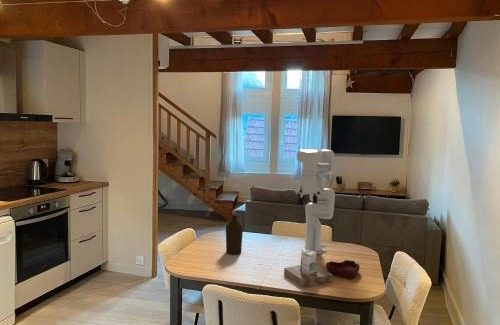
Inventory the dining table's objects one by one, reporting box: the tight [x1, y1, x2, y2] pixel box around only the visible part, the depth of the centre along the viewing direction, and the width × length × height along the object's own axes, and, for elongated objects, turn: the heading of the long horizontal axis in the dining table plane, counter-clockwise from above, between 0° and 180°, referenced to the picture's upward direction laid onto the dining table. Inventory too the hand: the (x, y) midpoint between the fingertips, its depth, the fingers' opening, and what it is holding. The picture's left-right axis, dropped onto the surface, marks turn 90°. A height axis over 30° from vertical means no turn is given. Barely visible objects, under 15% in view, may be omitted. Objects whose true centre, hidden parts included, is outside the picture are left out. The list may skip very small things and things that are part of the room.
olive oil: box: [225, 212, 244, 256], centre depth 242 cm, size 11×11×25 cm
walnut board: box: [283, 264, 334, 289], centre depth 205 cm, size 18×18×4 cm
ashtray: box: [325, 259, 360, 280], centre depth 212 cm, size 18×16×5 cm
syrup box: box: [300, 250, 317, 275], centre depth 204 cm, size 6×6×14 cm
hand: (307, 203), depth 219 cm, fingers open, 9 cm apart
